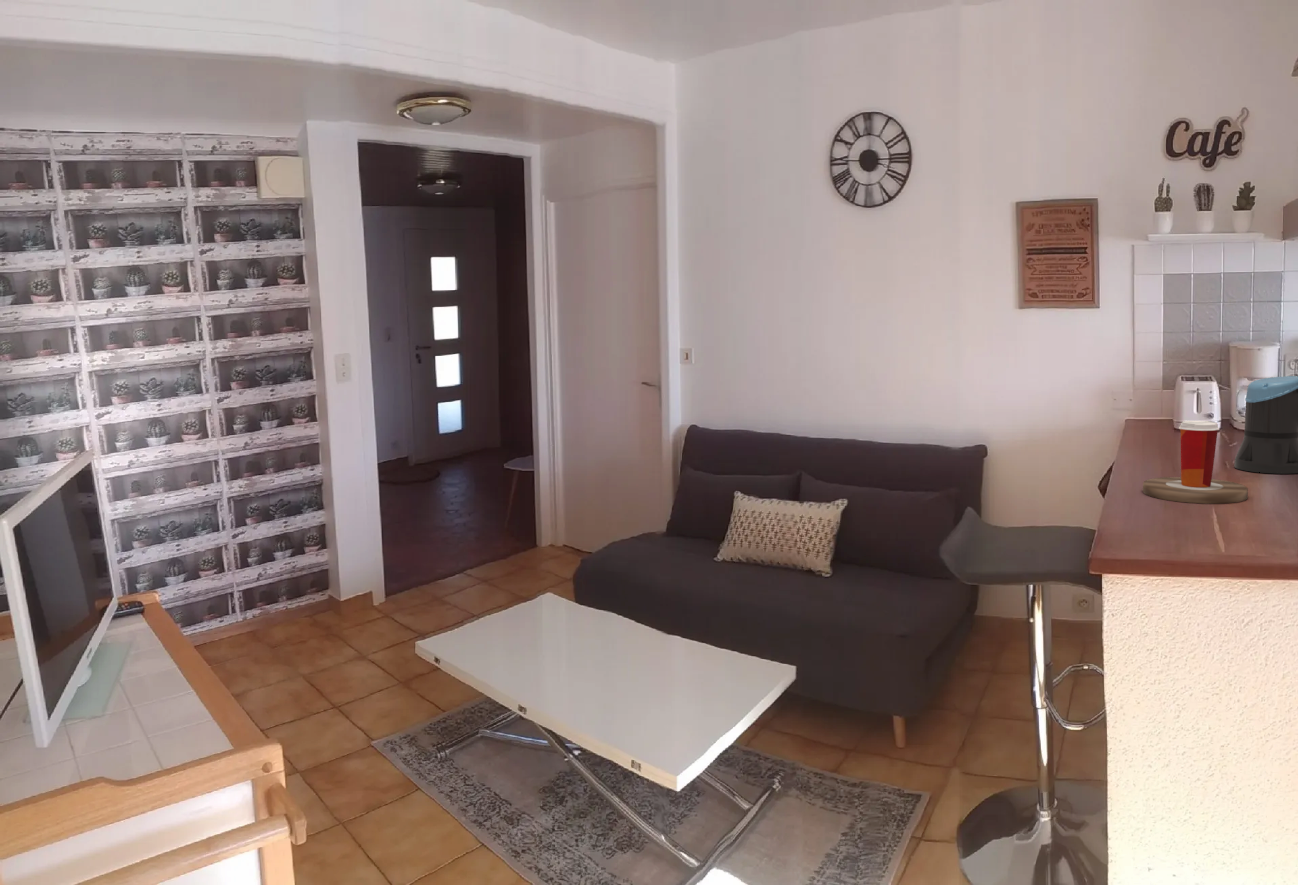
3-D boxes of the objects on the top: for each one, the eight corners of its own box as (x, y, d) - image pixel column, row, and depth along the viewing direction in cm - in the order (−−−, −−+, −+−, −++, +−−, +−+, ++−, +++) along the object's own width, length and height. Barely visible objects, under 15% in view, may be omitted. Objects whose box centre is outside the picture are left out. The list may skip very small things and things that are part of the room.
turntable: (1148, 482, 217) (1149, 474, 217) (1249, 489, 205) (1249, 480, 205) (1136, 498, 201) (1137, 489, 200) (1245, 507, 189) (1245, 497, 189)
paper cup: (1205, 481, 206) (1208, 420, 204) (1223, 488, 198) (1227, 424, 196) (1168, 482, 207) (1172, 420, 205) (1185, 488, 199) (1188, 424, 197)
